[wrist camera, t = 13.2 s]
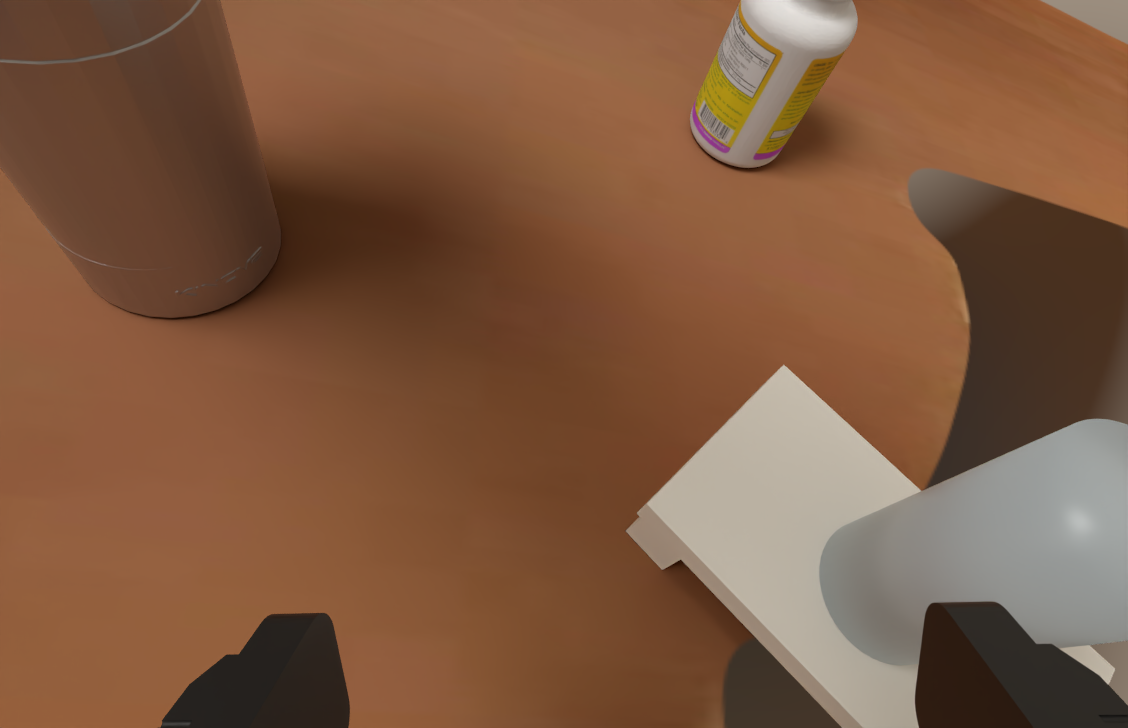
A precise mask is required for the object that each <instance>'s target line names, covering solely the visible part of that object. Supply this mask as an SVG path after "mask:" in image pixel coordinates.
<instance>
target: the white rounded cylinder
mask: <svg viewBox="0 0 1128 728" xmlns="http://www.w3.org/2000/svg"><path fill="white" fill-rule="evenodd" d="M819 577H820V586H821V591H822V595H823V598H824V602H825V605H826V607H827V609H828V611H829V614H830V615H831V617H832V619H833V621H834V623H835V624H836V625H837V627H838V628H839V630H840V631H841V632H842V634H843V635H844V636H845V637H846V638H847V639H848V640H849V641H850V642H851V643H852V644H853V645H854V646H855V647H856V648H858V649H859V650H860V651H862V652H863V653H864V654H866V655H868V656H870V657H871V658H873V659H876V660H878V661H880V662H883V663H887V664H891V665H912V664H919V658H920V650H921V642H922V634H923V626H924V618H925V613H926V610H927V608H928V606H929V605H930V604H931V603H934V602H982V601H993V602H997V603H999V604H1001V605H1002V606H1003V607H1004V608H1005V609H1006V610H1007V611H1008V612H1009V613H1010V614H1011V615H1012V616H1013V618H1014V619H1015V620H1016V621H1017V622H1018V623H1019V625H1020V626H1021V627H1022V628H1023V629H1024V630H1025V631H1026V633H1027V634H1028V635H1029V636H1030V637H1031V638H1032V639H1033V641H1034V642H1035V643H1036V644H1053V645H1054V646H1056V647H1057V648H1067V647H1076V646H1085V645H1093V644H1103V643H1112V642H1121V641H1128V425H1127V424H1124V423H1121V422H1117V421H1112V420H1107V419H1089V420H1084V421H1080V422H1077V423H1074V424H1072V425H1070V426H1068V427H1065V428H1063V429H1061V430H1059V431H1056V432H1054V433H1052V434H1050V435H1047V436H1045V437H1043V438H1041V439H1038V440H1036V441H1034V442H1031V443H1029V444H1027V445H1025V446H1022V447H1020V448H1018V449H1016V450H1014V451H1011V452H1009V453H1007V454H1004V455H1002V456H1000V457H998V458H995V459H993V460H991V461H989V462H986V463H984V464H982V465H980V466H977V467H975V468H973V469H971V470H968V471H966V472H964V473H961V474H959V475H957V476H955V477H953V478H950V479H948V480H946V481H943V482H941V483H939V484H937V485H934V486H932V487H930V488H928V489H925V490H923V491H921V492H919V493H916V494H914V495H912V496H910V497H907V498H905V499H903V500H901V501H898V502H896V503H894V504H891V505H889V506H887V507H885V508H882V509H880V510H878V511H876V512H873V513H871V514H869V515H867V516H864V517H862V518H860V519H858V520H855V521H853V522H851V523H849V524H846V525H845V526H843V527H841V528H840V529H838V530H837V531H836V532H835V533H834V534H833V535H832V536H831V537H830V538H829V540H828V541H827V543H826V545H825V547H824V549H823V552H822V556H821V560H820V568H819Z"/></svg>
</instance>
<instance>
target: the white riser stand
mask: <svg viewBox="0 0 1128 728" xmlns="http://www.w3.org/2000/svg"><path fill="white" fill-rule="evenodd" d="M919 492H921V490H920V489H919V488H918V487H916V486H915V485H914V484H913V483H912V482H911V481H910V480H909V479H908V478H907V477H906V476H904V475H903V474H902V473H901V472H900V471H899V470H898V469H897V468H896V467H895V466H894V465H892V464H891V463H890V462H889V461H888V460H887V459H886V458H885V457H884V456H883V455H882V454H880V453H879V452H878V451H877V450H876V449H875V448H874V447H873V446H872V445H871V444H870V443H869V442H867V441H866V440H865V439H864V438H863V437H862V436H861V435H860V434H859V433H858V432H857V431H855V430H854V429H853V428H852V427H851V426H850V425H849V424H848V423H847V422H846V421H845V420H843V419H842V418H841V417H840V416H839V415H838V414H837V413H836V412H835V411H834V410H833V409H831V408H830V407H829V406H828V405H827V404H826V403H825V402H824V401H823V400H822V399H821V398H819V397H818V396H817V395H816V394H815V393H814V392H813V391H812V390H811V389H810V388H809V387H807V386H806V385H805V384H804V383H803V382H802V381H801V380H800V379H799V378H798V377H797V376H796V375H794V374H793V373H792V372H791V371H790V370H789V369H788V368H787V367H786V366H785V365H783V366H782V367H781V368H780V369H779V370H778V371H777V372H776V373H774V374H773V375H772V376H771V377H770V378H769V379H768V380H767V381H766V382H765V383H764V384H763V385H762V386H761V387H760V388H759V389H758V390H757V391H756V392H755V393H754V394H753V395H752V396H751V397H750V398H749V399H748V400H747V401H746V403H745V404H744V405H743V406H742V407H741V408H740V409H739V410H738V411H737V412H736V413H735V414H734V415H733V416H732V417H731V418H730V419H729V420H728V421H727V422H726V423H725V424H724V425H723V426H722V427H721V428H720V429H719V430H718V431H717V432H716V433H715V434H714V435H713V436H712V437H711V438H710V439H709V440H708V441H707V442H706V443H705V444H704V445H703V446H702V447H701V448H700V449H699V450H698V451H697V452H696V453H695V454H694V455H693V456H692V457H691V458H690V459H689V460H688V461H687V462H686V463H685V464H684V465H683V466H682V467H681V468H680V469H679V470H678V471H677V473H676V474H675V475H674V476H673V477H672V478H671V479H670V480H669V481H668V482H667V483H666V484H665V485H664V486H663V487H662V488H661V489H660V490H659V491H658V492H657V493H656V494H655V495H654V496H653V497H652V498H651V499H650V500H649V501H648V502H647V503H646V504H645V505H644V506H643V507H642V508H641V509H640V510H639V511H638V512H637V514H638V515H639V516H640V517H639V518H638V519H637V520H636V521H635V522H634V523H633V524H632V525H631V526H630V527H629V528H628V529H627V530H626V532H627V533H628V534H629V536H630V537H631V538H632V539H633V540H634V541H635V542H636V543H637V544H638V545H639V546H640V547H641V548H642V549H643V550H644V551H645V552H646V553H647V555H648V556H649V557H650V558H651V559H652V560H653V561H654V562H655V563H656V564H657V565H658V566H659V567H660V568H661V569H662V570H663V569H665V568H667V567H668V566H670V565H672V564H674V563H675V562H677V561H679V560H682V561H683V562H684V563H685V564H686V565H687V567H688V568H689V569H690V570H691V571H692V572H693V573H694V574H695V575H696V576H697V577H698V578H699V579H700V580H701V581H702V582H703V583H704V584H705V585H706V586H707V587H708V588H709V589H710V590H711V592H712V593H713V594H714V595H715V596H716V597H717V598H718V599H719V600H720V601H721V602H722V603H723V604H724V605H725V606H726V607H727V608H728V609H729V610H730V611H731V612H732V613H733V614H734V616H735V617H736V618H737V619H738V620H739V621H740V622H741V623H742V624H743V625H744V626H745V627H746V628H747V629H748V630H749V631H750V632H751V633H752V634H753V635H754V636H755V637H756V638H757V640H758V641H759V642H760V643H761V644H762V645H763V646H764V647H765V648H766V649H767V650H768V651H769V652H770V653H771V654H772V655H773V656H774V657H775V658H776V659H777V660H778V661H779V662H780V664H782V666H783V667H784V668H785V669H786V670H787V671H788V672H789V673H790V674H791V675H792V676H793V677H794V678H795V679H796V680H797V681H798V682H799V683H800V684H801V685H802V686H803V687H804V688H805V690H806V691H807V692H808V693H809V694H810V695H811V696H812V697H813V698H814V699H815V700H816V701H817V702H818V703H819V704H820V705H821V706H822V707H823V708H824V709H825V710H826V711H827V713H828V714H829V715H830V716H831V717H832V718H833V719H834V720H835V721H836V722H837V723H838V724H839V725H840V726H841V727H842V728H919V726H918V721H917V716H916V710H915V689H916V681H917V673H918V665H919V664H912V665H891V664H887V663H883V662H880V661H878V660H876V659H873V658H871V657H870V656H868V655H866V654H864V653H863V652H862V651H860V650H859V649H858V648H856V647H855V646H854V645H853V644H852V643H851V642H850V641H849V640H848V639H847V638H846V637H845V636H844V635H843V634H842V632H841V631H840V630H839V628H838V627H837V625H836V624H835V623H834V621H833V619H832V617H831V615H830V614H829V611H828V609H827V607H826V605H825V602H824V598H823V595H822V591H821V586H820V577H819V568H820V560H821V556H822V552H823V549H824V547H825V545H826V543H827V541H828V540H829V538H830V537H831V536H832V535H833V534H834V533H835V532H836V531H837V530H838V529H840V528H841V527H843V526H845V525H846V524H849V523H851V522H853V521H855V520H858V519H860V518H862V517H864V516H867V515H869V514H871V513H873V512H876V511H878V510H880V509H882V508H885V507H887V506H889V505H891V504H894V503H896V502H898V501H901V500H903V499H905V498H907V497H910V496H912V495H914V494H916V493H919ZM1059 649H1060V650H1062V651H1063V652H1065V653H1066V654H1068V655H1069V656H1071V657H1072V658H1074V659H1075V660H1077V661H1078V662H1080V663H1081V664H1083V665H1084V666H1086V667H1087V668H1089V669H1090V670H1092V671H1093V672H1095V673H1096V674H1098V675H1099V676H1100V677H1101V678H1102V679H1103V680H1104V681H1105V682H1106V683H1107V684H1108V685H1109V683H1110V680H1111V678H1112V676H1113V673H1114V671H1115V668H1114V667H1113V666H1111V665H1110V664H1109V663H1108V662H1107V661H1106V660H1105V659H1104V658H1103V657H1101V656H1100V655H1099V654H1098V653H1097V652H1096V651H1095V650H1094V649H1093V648H1092V647H1091V646H1090V645H1085V646H1076V647H1067V648H1059Z"/></svg>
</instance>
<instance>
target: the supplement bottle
mask: <svg viewBox="0 0 1128 728" xmlns="http://www.w3.org/2000/svg"><path fill="white" fill-rule="evenodd" d="M856 29H857V13H856V9H855V6H854V3H853V1H852V0H740V3H739V5H738V7H737V10H736V12H735V14H734V16H733V19H732V21H731V23H730V25H729V27H728V30H727V32H726V34H725V36H724V38H723V41H722V43H721V45H720V47H719V50H718V52H717V54H716V56H715V58H714V61H713V63H712V65H711V67H710V70H709V72H708V74H707V76H706V78H705V81H704V83H703V85H702V87H701V89H700V92H699V94H698V96H697V98H696V101H695V103H694V106H693V108H692V111H691V115H690V125H691V130H692V133H693V135H694V137H695V139H696V141H697V142H698V143H699V145H700V146H701V147H702V148H703V149H704V150H705V151H706V152H707V153H708V154H710V155H711V156H712V157H714V158H716V159H717V160H719V161H721V162H724V163H727V164H729V165H733V166H737V167H743V168H754V167H760V166H763V165H765V164H767V163H769V162H771V161H772V160H773V159H774V158H776V157H777V155H778V154H779V153H780V151H781V150H782V148H783V147H784V145H785V144H786V142H787V141H788V139H789V138H790V136H791V135H792V133H793V131H794V130H795V128H796V127H797V125H798V124H799V122H800V121H801V119H802V118H803V116H804V114H805V113H806V111H807V110H808V108H809V107H810V105H811V104H812V102H813V100H814V99H815V97H816V96H817V94H818V92H819V91H820V89H821V88H822V86H823V85H824V83H825V81H826V80H827V78H828V77H829V75H830V74H831V72H832V71H833V69H834V67H835V66H836V64H837V63H838V61H839V60H840V58H841V57H842V55H843V54H844V52H845V51H846V49H847V47H848V46H849V44H850V43H851V41H852V39H853V37H854V35H855V33H856Z"/></svg>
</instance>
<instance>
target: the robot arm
mask: <svg viewBox="0 0 1128 728" xmlns="http://www.w3.org/2000/svg"><path fill="white" fill-rule="evenodd" d="M0 168H1V169H2V170H3V172H4V173H5V174H6V176H7V177H8V178H9V180H10V181H11V182H12V184H13V185H14V186H15V188H16V189H17V190H18V192H19V193H20V194H21V196H22V197H23V198H24V200H25V201H26V202H27V203H28V205H29V206H30V207H31V209H32V210H33V211H34V213H35V214H36V215H37V217H38V218H39V219H40V221H41V222H42V223H43V225H44V226H45V228H46V229H47V231H48V232H49V233H50V235H51V236H52V237H53V239H54V240H55V241H56V242H57V244H58V245H59V246H60V248H61V249H62V250H63V252H64V253H65V254H66V255H67V257H68V258H69V259H70V261H71V262H72V263H73V265H74V266H75V267H76V268H77V270H78V271H79V272H80V274H81V275H82V276H83V278H84V279H85V280H86V281H87V283H88V284H89V285H90V286H91V288H92V289H93V290H94V291H95V292H96V293H97V294H99V295H100V296H101V297H103V298H104V299H105V300H106V301H108V302H109V303H111V304H113V305H116V306H118V307H120V308H122V309H124V310H126V311H129V312H133V313H137V314H141V315H146V316H151V317H166V318H176V317H186V316H195V315H199V314H203V313H207V312H211V311H214V310H218V309H220V308H222V307H224V306H227V305H229V304H231V303H233V302H235V301H237V300H239V299H240V298H242V297H243V296H245V295H246V294H248V293H249V292H251V291H252V290H253V289H254V288H255V287H256V286H257V285H258V284H259V283H260V282H261V281H262V280H263V279H264V278H265V277H266V276H267V275H268V273H269V272H270V270H271V268H272V267H273V265H274V264H275V262H276V259H277V256H278V253H279V250H280V247H281V228H280V224H279V220H278V216H277V212H276V209H275V205H274V201H273V197H272V193H271V189H270V186H269V182H268V178H267V173H266V169H265V165H264V162H263V158H262V154H261V150H260V147H259V143H258V139H257V136H256V132H255V128H254V124H253V121H252V117H251V113H250V110H249V106H248V102H247V98H246V95H245V91H244V87H243V84H242V80H241V76H240V72H239V69H238V65H237V61H236V58H235V54H234V50H233V46H232V43H231V39H230V35H229V32H228V28H227V24H226V20H225V17H224V13H223V9H222V6H221V2H220V0H0ZM915 710H916V716H917V721H918V726H919V728H1128V706H1127V705H1126V703H1125V702H1124V701H1123V700H1122V699H1121V698H1120V697H1119V696H1118V695H1117V694H1116V693H1115V692H1114V691H1113V689H1112V688H1111V687H1110V686H1109V685H1108V684H1107V683H1106V682H1105V681H1104V680H1103V679H1102V678H1101V677H1100V676H1099V675H1098V674H1096V673H1095V672H1093V671H1092V670H1090V669H1089V668H1087V667H1086V666H1084V665H1083V664H1081V663H1080V662H1078V661H1077V660H1075V659H1074V658H1072V657H1071V656H1069V655H1068V654H1066V653H1065V652H1063V651H1062V650H1060V649H1059V648H1057V647H1056V646H1054V645H1053V644H1036V643H1035V642H1034V641H1033V639H1032V638H1031V637H1030V636H1029V635H1028V634H1027V633H1026V631H1025V630H1024V629H1023V628H1022V627H1021V626H1020V625H1019V623H1018V622H1017V621H1016V620H1015V619H1014V618H1013V616H1012V615H1011V614H1010V613H1009V612H1008V611H1007V610H1006V609H1005V608H1004V607H1003V606H1002V605H1001V604H999V603H997V602H993V601H982V602H934V603H931V604H930V605H929V606H928V608H927V610H926V613H925V618H924V626H923V634H922V642H921V650H920V658H919V665H918V673H917V681H916V689H915ZM349 715H350V706H349V697H348V692H347V687H346V683H345V678H344V673H343V669H342V664H341V659H340V655H339V650H338V645H337V640H336V636H335V631H334V627H333V623H332V620H331V618H330V617H329V616H328V615H327V614H325V613H302V614H271V615H269V616H267V617H266V618H265V619H264V620H263V621H262V623H261V624H260V625H259V627H258V628H257V630H256V631H255V632H254V634H253V635H252V637H251V638H250V640H249V641H248V642H247V644H246V645H245V647H244V648H243V649H242V651H241V652H240V654H239V655H226V656H224V657H223V658H222V659H221V660H219V661H218V662H217V663H216V664H214V665H213V666H212V667H211V668H209V669H208V670H207V671H206V672H204V673H203V674H202V675H201V676H199V677H198V678H197V679H196V680H194V681H193V682H192V683H191V684H190V685H189V686H188V687H187V688H186V690H185V691H184V692H183V694H182V695H181V696H180V698H179V699H178V700H177V702H176V703H175V704H174V705H173V707H172V708H171V709H170V711H169V712H168V713H167V715H166V716H165V717H164V719H163V720H162V726H161V727H160V728H348V726H349Z"/></svg>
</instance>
